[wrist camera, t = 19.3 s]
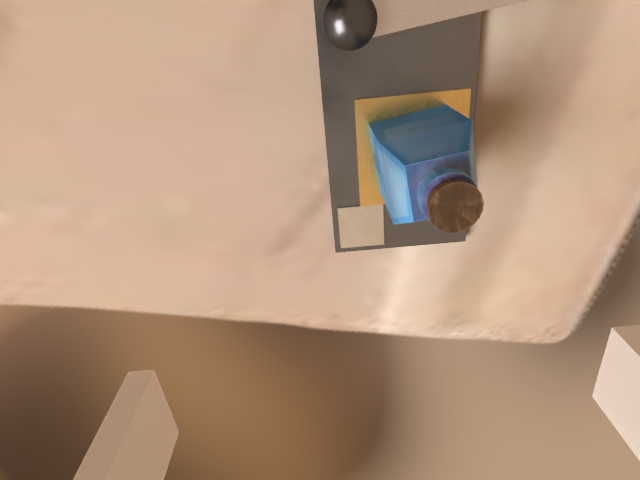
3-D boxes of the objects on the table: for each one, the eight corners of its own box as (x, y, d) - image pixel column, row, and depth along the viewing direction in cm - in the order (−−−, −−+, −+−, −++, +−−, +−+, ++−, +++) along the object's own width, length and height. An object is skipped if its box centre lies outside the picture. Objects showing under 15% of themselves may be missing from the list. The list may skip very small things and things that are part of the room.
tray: (311, -24, 30) (311, -27, 28) (482, -42, 29) (494, -47, 27) (335, 248, 40) (336, 260, 38) (462, 237, 39) (470, 248, 37)
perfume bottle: (368, 123, 33) (393, 169, 23) (445, 104, 33) (509, 143, 22) (381, 193, 36) (409, 264, 26) (453, 177, 36) (512, 243, 25)
